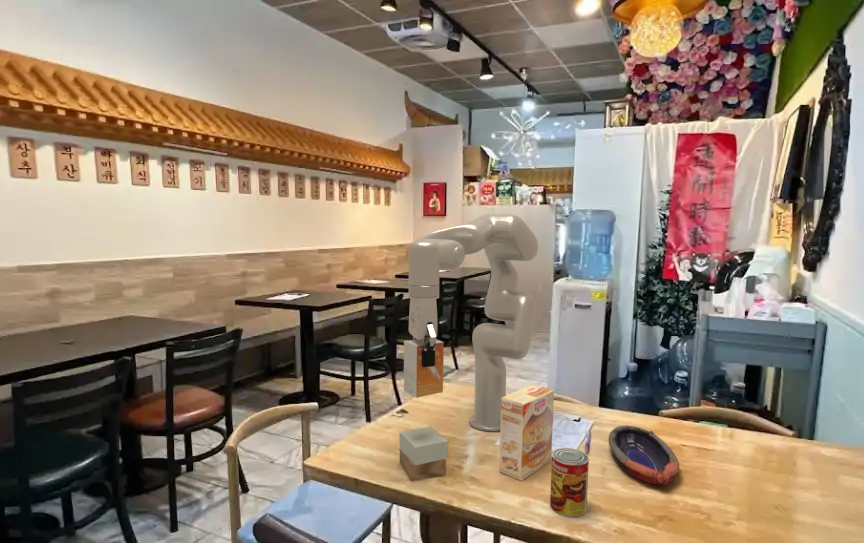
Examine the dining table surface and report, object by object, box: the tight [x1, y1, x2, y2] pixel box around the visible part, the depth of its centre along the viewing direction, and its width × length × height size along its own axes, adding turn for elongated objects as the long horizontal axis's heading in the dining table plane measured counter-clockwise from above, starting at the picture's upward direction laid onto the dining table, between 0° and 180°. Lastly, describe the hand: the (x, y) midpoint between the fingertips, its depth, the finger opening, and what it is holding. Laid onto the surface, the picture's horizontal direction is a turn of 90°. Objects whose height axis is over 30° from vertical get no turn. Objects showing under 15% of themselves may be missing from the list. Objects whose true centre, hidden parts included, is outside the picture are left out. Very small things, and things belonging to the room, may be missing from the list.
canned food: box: [549, 447, 590, 518], centre depth 115 cm, size 8×8×12 cm
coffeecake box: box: [498, 383, 555, 481], centre depth 134 cm, size 15×7×20 cm, turn 137°
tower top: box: [399, 425, 449, 465], centre depth 132 cm, size 9×10×4 cm
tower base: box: [399, 449, 446, 482], centre depth 133 cm, size 9×10×4 cm
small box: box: [403, 338, 445, 398], centre depth 130 cm, size 8×6×13 cm
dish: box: [608, 425, 680, 486], centre depth 137 cm, size 16×31×5 cm, turn 172°
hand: (423, 361), depth 130 cm, fingers closed on small box, 7 cm apart
